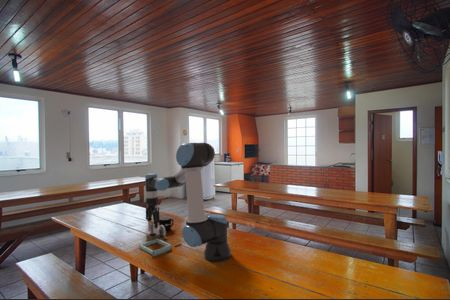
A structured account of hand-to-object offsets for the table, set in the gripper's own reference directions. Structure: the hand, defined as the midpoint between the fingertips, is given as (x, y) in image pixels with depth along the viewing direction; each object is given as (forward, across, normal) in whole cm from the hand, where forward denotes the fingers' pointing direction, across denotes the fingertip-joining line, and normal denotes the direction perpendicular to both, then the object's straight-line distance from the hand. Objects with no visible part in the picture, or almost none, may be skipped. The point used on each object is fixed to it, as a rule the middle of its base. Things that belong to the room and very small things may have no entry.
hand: (153, 231), depth 167 cm
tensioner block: (+6, 0, -2) cm, 7 cm away
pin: (+5, 0, 0) cm, 5 cm away
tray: (+6, -13, +6) cm, 16 cm away
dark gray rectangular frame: (+6, -13, -5) cm, 15 cm away
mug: (+7, +9, -17) cm, 20 cm away
